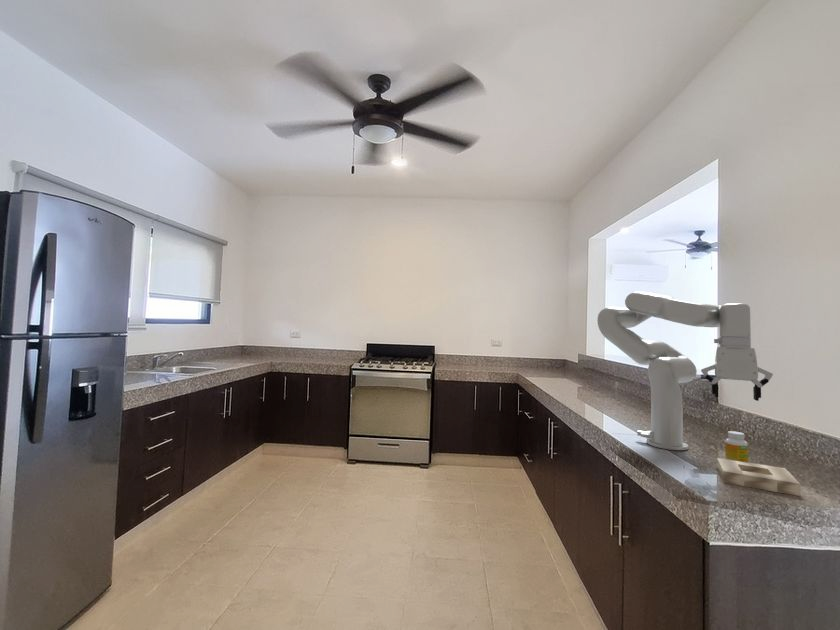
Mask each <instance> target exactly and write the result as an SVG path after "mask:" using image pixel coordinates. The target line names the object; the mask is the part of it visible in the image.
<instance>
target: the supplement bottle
mask: <svg viewBox="0 0 840 630" xmlns="http://www.w3.org/2000/svg"><path fill="white" fill-rule="evenodd" d="M727 436H728V437H727V438H726V439H725V442H724V443H725V446H724V447H725V449H724V451H725V459H727V460H734V461H741V462H747V463H749V444H748V442H747V441H746V440H745V436H746V435H745V433H743V432H739V431H734V430H733V431H732V430H729V431H727Z"/></svg>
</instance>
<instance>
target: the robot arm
mask: <svg viewBox="0 0 840 630" xmlns="http://www.w3.org/2000/svg"><path fill="white" fill-rule="evenodd" d="M624 305H625V307H624V306H623V307H621V306H608V307H604V308H602V309H601V310H600V311H599V313H598V314H597V326H598V330H599V331H600V334H602V336H603V337H604V338H605V339H606V340H608V341H609V342H610V343H611V344H613V345H614V346H616V347H617V348H618V349H619V350H620V351H621V352H622V353H624V354H625V355H626V356H628V357H629V358H630V359H632V361H634V362H635V363H637V364H639V365H643V366H648V367H647V375H648V379H649V383H650V402H651V403H650V407H651V408H650V413H651V414H650V415H651V416H650V420H651V422H650V423H651V425H650V428H651V429H650V430H646V431H643V430H640V429H639V430H637V432H636V433H637V436H639V437H641V438H647V439H646V444H647V445H649V446H651V447H655V448H658V449H663V450H669V451H686V450H688V449H689V445H688V444H687V443H685V442H684V431H683V430H684V427H683V423H684V420H683V417H684V416H683V415H684V413H683V395H682V393H683V392H682V390H681V386H680V384H684V383H685V384H686V383H689V382H691V381H693V380H694V379H695V378H696V377H697V373H698V372H697V370H698V369H697V367H696V364H695V363H694V362H693V361H692V360H691V359H690V358H688V357H687V356H685V355H684V354H682V352H679V350H677V349H675V348H674V347H672V346H671V345H669V344H668V343H666V342H663V341H661V340H652V339H651V340H649V339H645V338H643V337H641V336H640V335H638V334H637V333H635V331H633V330H631V328H634V327H637V326H638V325H640V324H642V323H643V322H645V321H647V320H648V319H650V318H652V317H653V318H658V319H661V320H664V321H670V322H673V323H678V324H680V325H681V324H682V325H685V326H691V327H697V328H699V327H701V328H719V337H718V338H714V339H713V343H714V344H718V345H719V346H717V347H716V352H715V359H714V364H712V365H709V366H706V367H703V368H701V373H702V375H703V376H704V378H705V379H706V380H707V381H708V382H710V384H711V394H712V395H714V397H715V398H719V384H718V382H719V381H721V380H730V381H731V380H732V381H734V380H735V381H745V382H746V381H747V382H752V384H754V386H753V390H752V393H753V400H755V401H756V402H759V401H760V399H761V398H762V388H763V387H764V386H765V385H766V384H768V383H769V382H770V380H771V379H772V377H773V376H774V374H773V373H772V372H770V371H768V370H765V369H763V368H762V367H761V368H760V367H759V366H758V360H757V354H756V349H755V348H754V347H753V348H752V346H751V345H752V344H751V341H752V340H751V339H752V337H751V332H752V331H751V307H750V305H748V304H747V303H741V302H740V303H738V302H737V303H735V302H734V303H724V304H721V305H719V304H718V305H717V304H707V303H695V302H690V301H685V300H679V299H674V297H673V296H671V295H670V296H669V295H663V294H657V293H655V292H646V291H633V292H631V293H629V294H628V295H627V296H626V297H625V300H624ZM713 370H714V375H715V376H714V377H713V378H712V377H711V376H710V374H709V372H711V371H713ZM759 374H762V375H764V377H763V378H762V379H761V380H758V378H759Z"/></svg>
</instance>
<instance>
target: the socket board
mask: <svg viewBox="0 0 840 630" xmlns="http://www.w3.org/2000/svg"><path fill="white" fill-rule="evenodd" d="M716 465H717V466H716V467H717V471H718V473H719V475H720V478H721V480H722V482H723V483H724V484H729V485H735V486H741V487H745V486H746V488H751V487H752V488H753V489H758V490H762V489H763V491H770V492H775V493H782V494H787V495H792V496H797V497H801V483H800V482H799V481H798V480H797V479H796V478H795V477H794V475H792V473H790V471H788V470H787V468H785V467H779V466H774V465H773V466H772V465H766V464H762V463H761V464H759V463H754V462H753V463H752V462H748V463H747V462H741V461H734V460H727V459H726V458H719V457H717V458H716Z"/></svg>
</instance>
